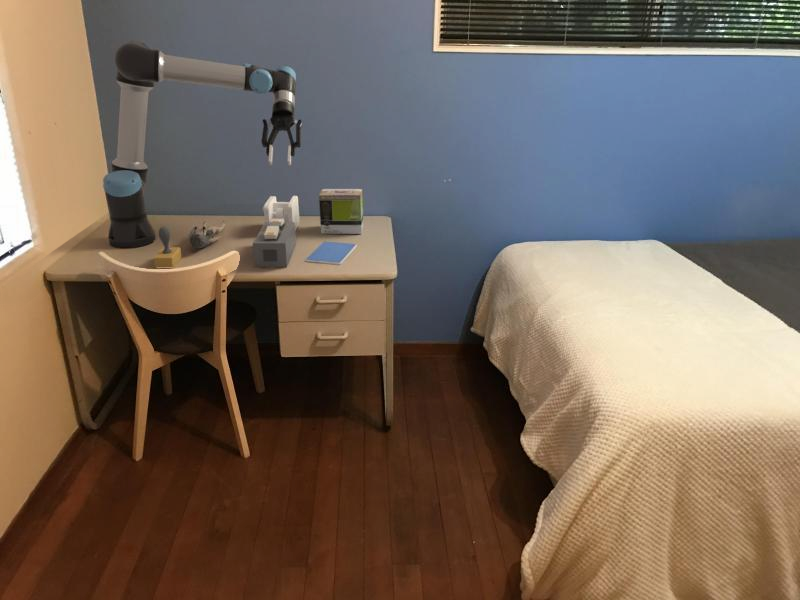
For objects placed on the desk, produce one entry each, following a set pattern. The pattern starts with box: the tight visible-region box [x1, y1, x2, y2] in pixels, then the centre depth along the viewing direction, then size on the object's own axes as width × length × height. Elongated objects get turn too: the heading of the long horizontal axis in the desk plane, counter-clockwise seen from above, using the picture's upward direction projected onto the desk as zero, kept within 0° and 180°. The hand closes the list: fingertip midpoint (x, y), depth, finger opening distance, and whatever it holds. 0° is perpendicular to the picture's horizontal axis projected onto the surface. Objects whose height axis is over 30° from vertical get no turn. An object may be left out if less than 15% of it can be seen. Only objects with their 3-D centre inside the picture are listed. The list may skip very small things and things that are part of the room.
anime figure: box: [189, 220, 226, 250], centre depth 213 cm, size 10×7×30 cm
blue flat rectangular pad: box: [304, 240, 358, 266], centre depth 205 cm, size 19×13×1 cm, turn 167°
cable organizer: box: [262, 195, 300, 232], centre depth 225 cm, size 15×11×12 cm
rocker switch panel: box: [252, 221, 297, 268], centre depth 200 cm, size 10×22×8 cm, turn 1°
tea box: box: [318, 188, 364, 235], centre depth 224 cm, size 15×10×15 cm, turn 89°
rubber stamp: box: [153, 226, 183, 268], centre depth 193 cm, size 10×6×12 cm, turn 4°
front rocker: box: [264, 226, 279, 239], centre depth 194 cm, size 4×6×2 cm, turn 1°
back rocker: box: [270, 219, 284, 226], centre depth 203 cm, size 4×6×2 cm, turn 1°
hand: (279, 163), depth 209 cm, fingers open, 6 cm apart
